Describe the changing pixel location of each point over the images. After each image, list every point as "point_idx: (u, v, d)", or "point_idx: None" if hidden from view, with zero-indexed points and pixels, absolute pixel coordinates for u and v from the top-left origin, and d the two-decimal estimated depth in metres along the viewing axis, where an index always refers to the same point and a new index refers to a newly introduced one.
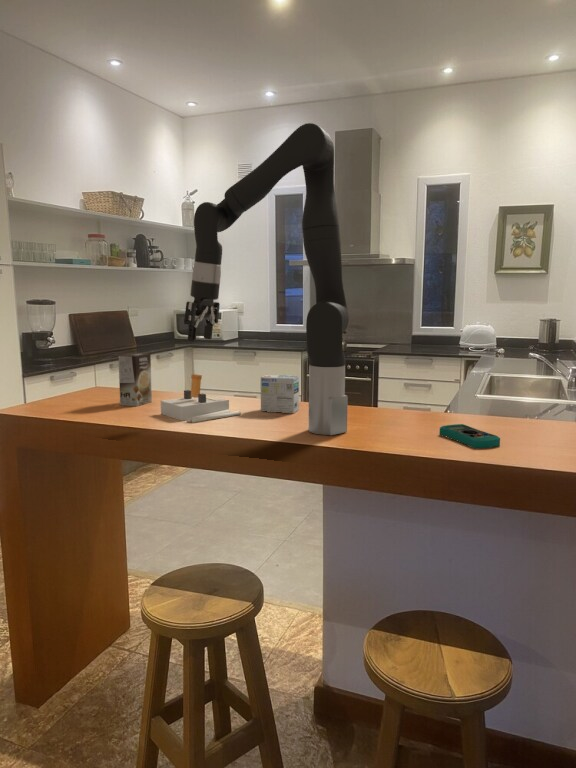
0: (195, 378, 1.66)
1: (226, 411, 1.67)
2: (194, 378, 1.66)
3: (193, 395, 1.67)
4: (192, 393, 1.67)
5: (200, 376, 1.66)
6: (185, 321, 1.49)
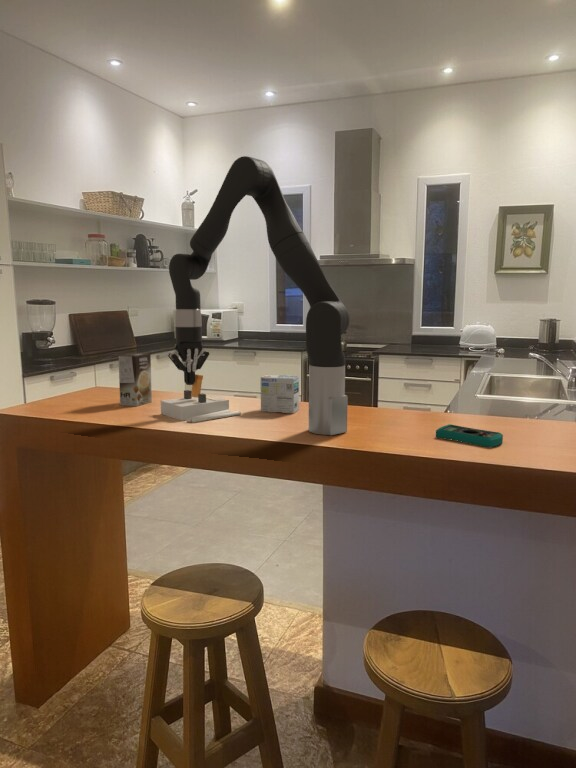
0: (196, 378, 1.66)
1: (226, 411, 1.67)
2: (195, 378, 1.67)
3: (194, 395, 1.67)
4: (192, 393, 1.67)
5: (201, 376, 1.67)
6: (178, 368, 1.64)
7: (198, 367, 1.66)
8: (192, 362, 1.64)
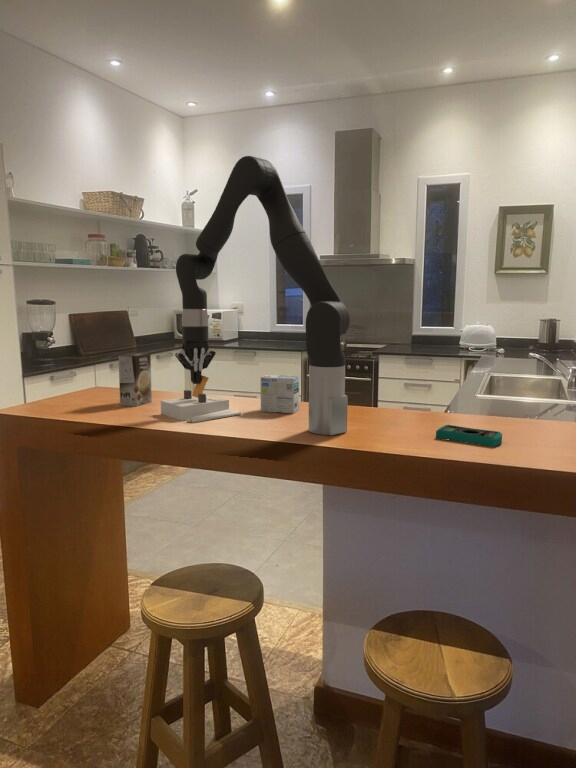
0: None
1: (226, 411, 1.67)
2: None
3: (195, 395, 1.67)
4: (194, 392, 1.68)
5: (207, 378, 1.68)
6: (185, 368, 1.65)
7: (204, 366, 1.67)
8: (199, 361, 1.66)
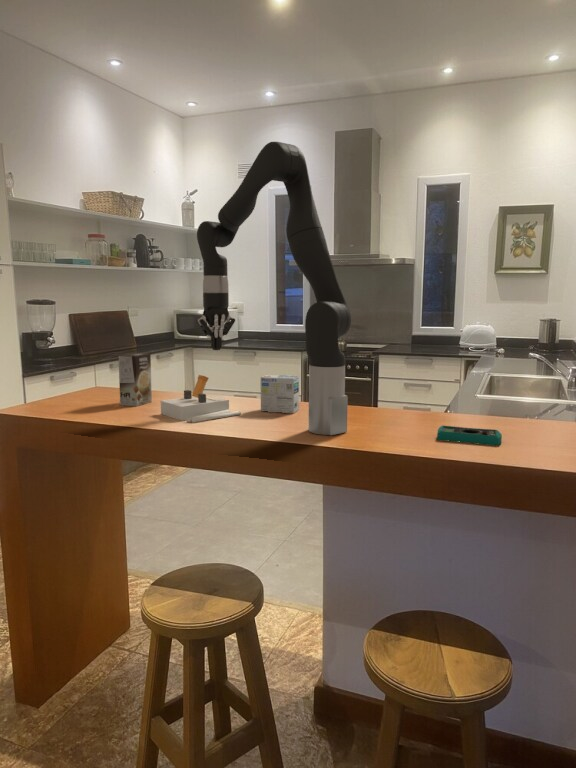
0: (201, 378, 1.68)
1: (226, 411, 1.67)
2: (200, 378, 1.68)
3: (195, 395, 1.67)
4: (194, 392, 1.68)
5: (207, 378, 1.68)
6: (205, 334, 1.68)
7: (224, 333, 1.70)
8: (219, 328, 1.69)
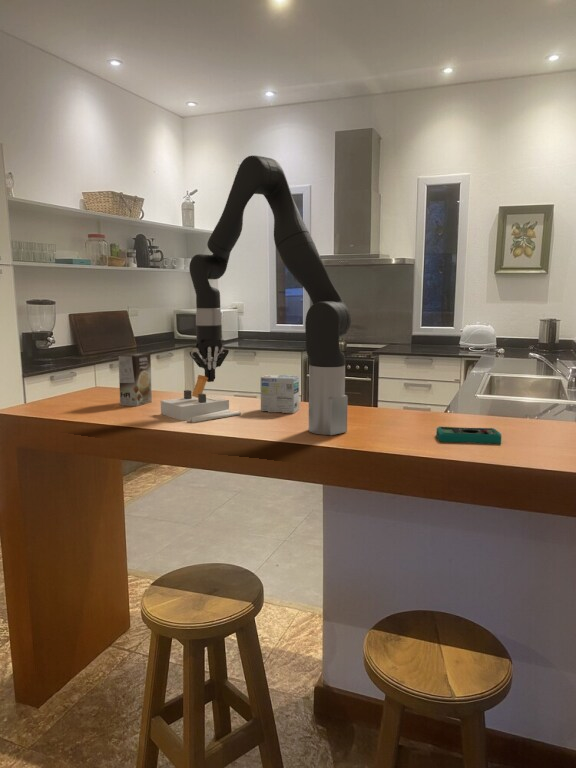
0: (201, 378, 1.67)
1: (226, 411, 1.67)
2: (200, 378, 1.68)
3: (195, 395, 1.67)
4: (194, 392, 1.68)
5: (206, 378, 1.68)
6: (199, 366, 1.68)
7: (218, 364, 1.70)
8: (212, 360, 1.69)
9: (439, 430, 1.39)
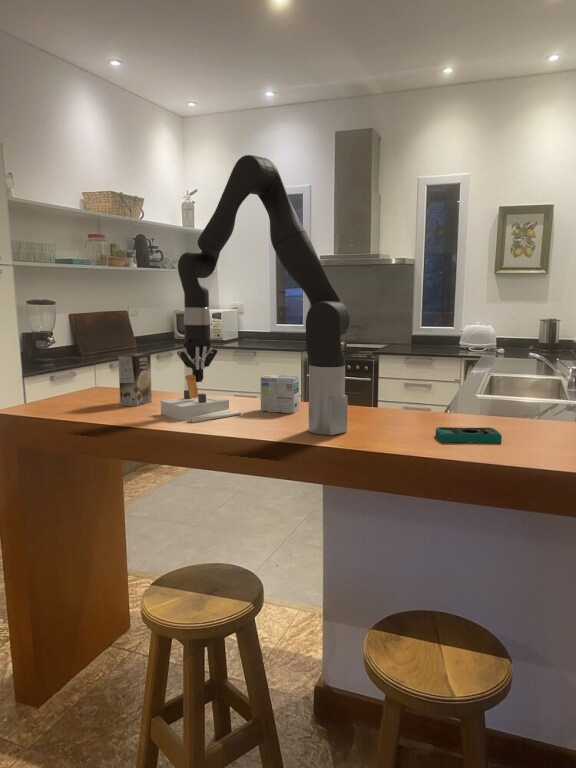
0: (190, 380, 1.65)
1: (226, 411, 1.67)
2: (189, 380, 1.65)
3: (192, 396, 1.66)
4: (190, 394, 1.67)
5: (194, 376, 1.65)
6: (187, 366, 1.66)
7: (206, 364, 1.68)
8: (200, 360, 1.66)
9: (440, 431, 1.38)
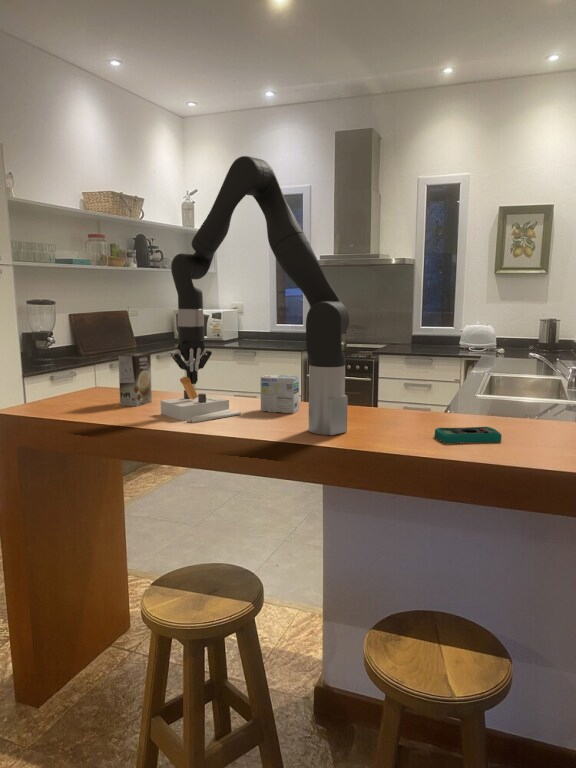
0: (185, 383, 1.64)
1: (226, 411, 1.67)
2: (184, 383, 1.64)
3: (191, 398, 1.66)
4: (189, 395, 1.67)
5: (188, 379, 1.64)
6: (181, 368, 1.64)
7: (200, 366, 1.66)
8: (194, 361, 1.65)
9: (441, 432, 1.37)
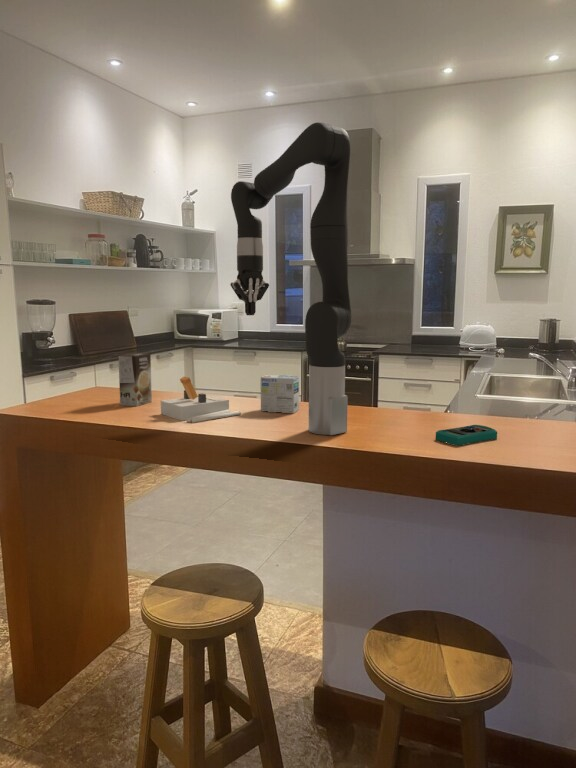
0: (185, 383, 1.64)
1: (226, 411, 1.67)
2: (184, 383, 1.64)
3: (191, 398, 1.66)
4: (189, 395, 1.67)
5: (188, 379, 1.64)
6: (240, 298, 1.64)
7: (259, 298, 1.66)
8: (253, 292, 1.65)
9: (447, 434, 1.35)
